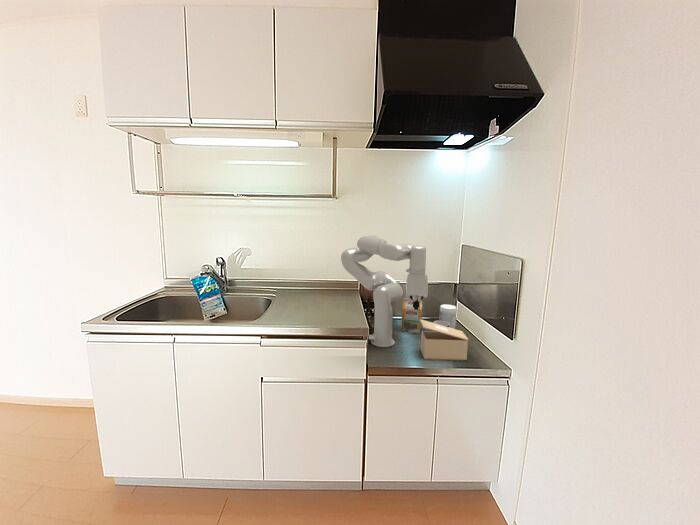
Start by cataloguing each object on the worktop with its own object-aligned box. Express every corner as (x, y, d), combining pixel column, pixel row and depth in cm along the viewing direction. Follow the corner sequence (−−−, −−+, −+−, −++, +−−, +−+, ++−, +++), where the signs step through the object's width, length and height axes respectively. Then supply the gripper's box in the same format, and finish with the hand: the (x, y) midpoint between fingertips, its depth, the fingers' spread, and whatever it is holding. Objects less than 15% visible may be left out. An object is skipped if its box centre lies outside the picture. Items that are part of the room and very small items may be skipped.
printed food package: (401, 332, 199) (402, 300, 196) (403, 326, 209) (404, 296, 206) (419, 334, 196) (421, 302, 193) (421, 328, 206) (422, 297, 203)
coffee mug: (449, 344, 181) (450, 326, 180) (432, 343, 183) (433, 325, 181) (447, 336, 193) (448, 319, 191) (431, 335, 194) (432, 318, 193)
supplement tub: (435, 329, 203) (436, 306, 200) (443, 326, 209) (445, 303, 207) (449, 334, 196) (451, 309, 193) (458, 330, 202) (459, 306, 200)
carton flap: (423, 327, 161) (423, 326, 161) (419, 320, 172) (420, 318, 171) (468, 340, 161) (468, 339, 161) (461, 332, 172) (462, 330, 171)
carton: (424, 359, 163) (425, 339, 162) (420, 349, 174) (421, 331, 172) (466, 360, 162) (468, 340, 161) (460, 350, 173) (461, 332, 172)
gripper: (402, 273, 159) (401, 311, 161) (434, 273, 158) (433, 311, 161) (400, 270, 166) (399, 306, 169) (431, 270, 165) (430, 307, 168)
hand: (415, 308), depth 165 cm, fingers closed
